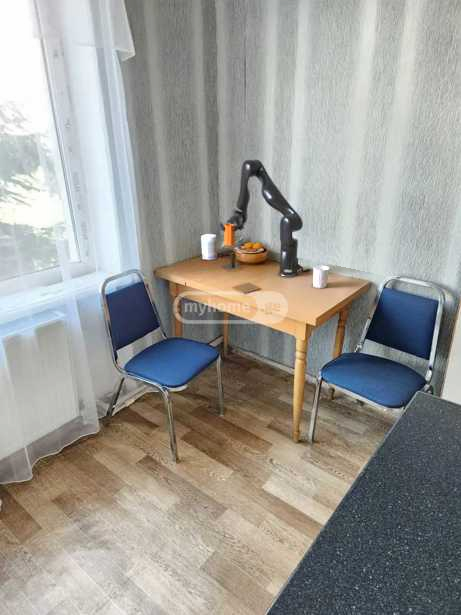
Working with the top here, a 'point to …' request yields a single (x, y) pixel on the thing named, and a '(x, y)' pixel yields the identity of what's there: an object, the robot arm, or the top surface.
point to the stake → (232, 262)
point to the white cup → (320, 276)
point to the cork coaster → (246, 288)
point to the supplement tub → (209, 246)
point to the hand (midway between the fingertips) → (229, 229)
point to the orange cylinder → (229, 234)
